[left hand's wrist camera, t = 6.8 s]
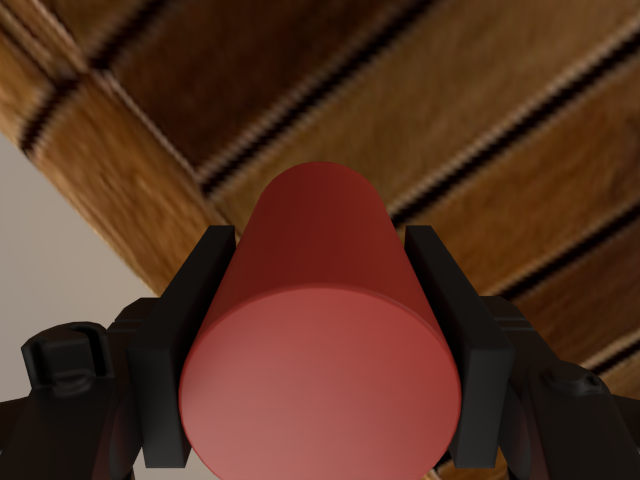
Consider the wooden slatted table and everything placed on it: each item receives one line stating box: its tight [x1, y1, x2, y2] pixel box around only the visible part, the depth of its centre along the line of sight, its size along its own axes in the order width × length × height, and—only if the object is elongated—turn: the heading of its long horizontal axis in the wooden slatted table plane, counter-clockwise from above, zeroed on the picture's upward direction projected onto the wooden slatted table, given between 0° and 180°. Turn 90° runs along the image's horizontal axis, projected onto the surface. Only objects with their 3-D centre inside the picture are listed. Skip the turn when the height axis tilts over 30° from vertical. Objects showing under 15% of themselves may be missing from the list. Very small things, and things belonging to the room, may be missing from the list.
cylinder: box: [178, 162, 462, 480], centre depth 13 cm, size 5×5×10 cm
